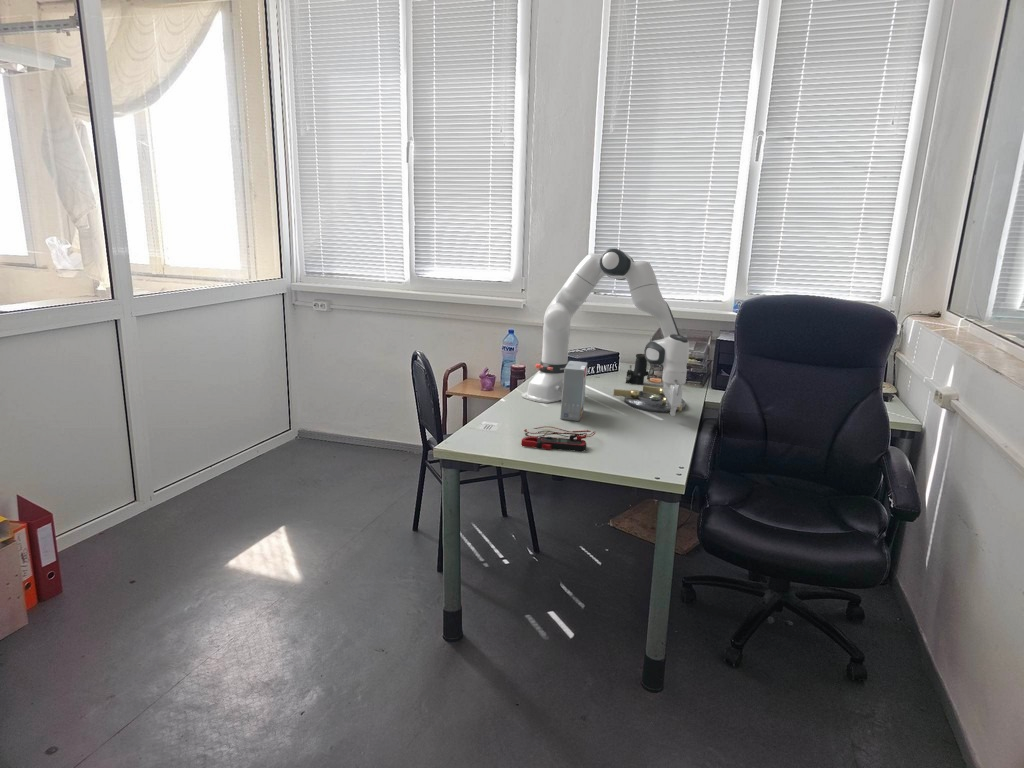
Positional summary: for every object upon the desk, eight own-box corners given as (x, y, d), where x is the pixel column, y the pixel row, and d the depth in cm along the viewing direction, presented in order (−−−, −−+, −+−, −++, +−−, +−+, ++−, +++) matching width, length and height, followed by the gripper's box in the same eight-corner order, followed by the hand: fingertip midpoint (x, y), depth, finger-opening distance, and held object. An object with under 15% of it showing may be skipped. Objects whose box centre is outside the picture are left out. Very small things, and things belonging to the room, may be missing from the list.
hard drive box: (580, 421, 239) (584, 370, 234) (559, 419, 241) (563, 368, 236) (583, 410, 254) (587, 361, 249) (564, 408, 255) (568, 359, 250)
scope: (630, 351, 301) (651, 354, 299) (627, 380, 305) (648, 382, 302) (627, 355, 294) (649, 357, 291) (624, 383, 298) (646, 386, 295)
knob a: (668, 394, 275) (668, 387, 274) (666, 396, 271) (667, 389, 271) (643, 390, 278) (644, 384, 278) (642, 392, 275) (642, 386, 274)
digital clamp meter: (596, 443, 206) (519, 436, 209) (594, 456, 207) (519, 449, 210) (595, 420, 229) (526, 415, 231) (594, 432, 230) (525, 426, 232)
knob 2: (660, 403, 260) (661, 396, 260) (667, 402, 262) (668, 395, 261) (676, 410, 251) (677, 403, 250) (684, 410, 252) (684, 403, 252)
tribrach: (669, 416, 251) (671, 407, 250) (613, 403, 265) (614, 394, 264) (693, 403, 270) (695, 395, 269) (640, 392, 284) (641, 383, 283)
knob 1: (638, 396, 269) (639, 389, 269) (639, 398, 266) (639, 391, 265) (613, 394, 271) (613, 387, 270) (613, 396, 267) (614, 389, 266)
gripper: (687, 384, 234) (683, 420, 237) (677, 371, 253) (673, 404, 257) (670, 383, 234) (666, 419, 238) (661, 370, 254) (658, 403, 257)
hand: (670, 411), depth 248 cm, fingers open, 8 cm apart
